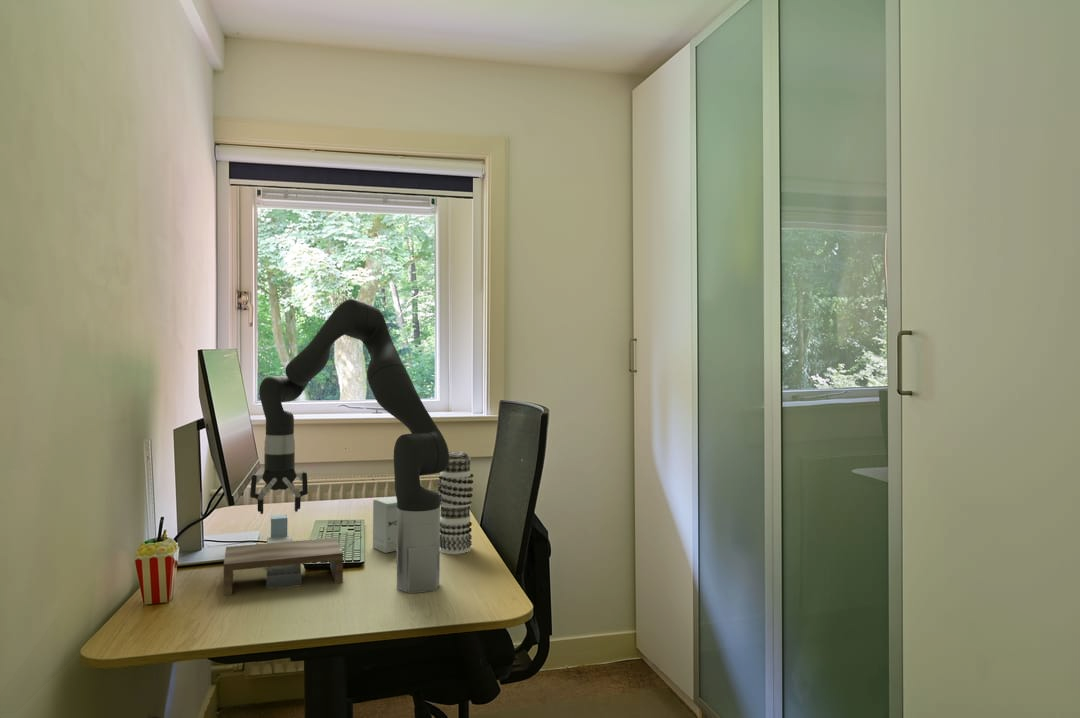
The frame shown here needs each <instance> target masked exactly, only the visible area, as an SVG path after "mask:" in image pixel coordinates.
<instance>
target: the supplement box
mask: <svg viewBox="0 0 1080 718" xmlns="http://www.w3.org/2000/svg"><path fill="white" fill-rule="evenodd" d="M372 502H373V503H372V505H373V506H372V507H373V509H372V510H373V511H372V523H373V524H372V548H374V549H376V550H378V551H379V552H382V553H385V554H388V553H391V552H397V498H396V496H393V497H384V498H376V499H372Z"/></svg>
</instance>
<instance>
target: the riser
mask: <svg viewBox="0 0 1080 718" xmlns="http://www.w3.org/2000/svg"><path fill="white" fill-rule="evenodd" d="M329 561H330V566H329V568H330V571H331V575H332V577H333V579H334V582H335V584H342V583H344V582H343V581H344V579H343V578H344V577H343V576H344V552H343V551H342V550H341V547H340V545H339V543H338V541H337V538H332V537H326V538H316V539H304V540H292V541H290V542H278V543H267V542H266V543H256V544H247V545H246V544H245V545H233V546H226V547H225V552H224V560H223V596H229V595H233V581H234V580H233V579H234V571H240V570H241V571H242V570H244V571H245V570H252V569H253V570H254V569H263V568H268V567H275V566H285V565H295V564H301V565H303V564H304V565H306V564H313V563H314V564H315V563H325V562H329Z"/></svg>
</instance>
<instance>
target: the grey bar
mask: <svg viewBox="0 0 1080 718" xmlns="http://www.w3.org/2000/svg"><path fill="white" fill-rule="evenodd" d="M290 541H293V537H292V535H288V514H278V515H277V514H276V515H271V516H270V537H266V544H267V543H278V542H290Z"/></svg>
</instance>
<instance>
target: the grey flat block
mask: <svg viewBox="0 0 1080 718" xmlns="http://www.w3.org/2000/svg"><path fill="white" fill-rule="evenodd" d="M266 568H267V569H266V589H276V588H286V587H287V588H288V587H289V588H290V587H298V586H302V564H295V565H285V566H275V567H266Z"/></svg>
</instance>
